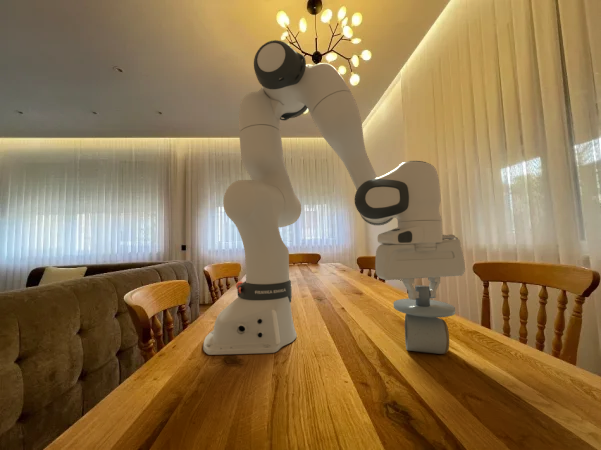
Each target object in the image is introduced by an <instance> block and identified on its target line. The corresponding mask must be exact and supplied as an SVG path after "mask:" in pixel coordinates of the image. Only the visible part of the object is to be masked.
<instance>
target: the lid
mask: <svg viewBox="0 0 601 450" xmlns="http://www.w3.org/2000/svg"><path fill="white" fill-rule="evenodd" d="M414 289H415V290H416V291H419V299H416V300H411V299H409V298H401V299H397V300H395V301H393V303H392V304H393V309H394V310H396V311H398V312H400V313H402V314H405V315H406V314H409V315H414V316H421V317H436V318H446V317H452V316H454V315H455V314H456V307H455V306H454V305H452V304H450V303H447V302H444V301H442V300H441V301H440V300H435V299H431V298H430V293H429V285H422V284H420V285H418V284H416V285H415V286H414Z"/></svg>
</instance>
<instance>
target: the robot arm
mask: <svg viewBox="0 0 601 450" xmlns="http://www.w3.org/2000/svg"><path fill="white" fill-rule="evenodd" d="M306 60H307V59H306V57H305V56H304V55H303V54H301V53H299V52H298V51H296V50H295V49H294V48H292V47H291V46H290V45H289V44H287V43H286V42H284V41H283V40H276V39H275V40H270V41H267V42H265V43H264V44H262V45H261V46H260V47H259V48H258V49H257V51H256V53H255V55H254V58H253V69H254V74H255V76H256V79H257V81H258V83H259V84H260V85H261V88H260V89H259V90H257V91H252V92H249V93H246V94H245V95H244V96H243V98H242V99H241V101H240V105H239V111H238V112H239V113H238V135H239V147H240V158H241V160H240V161H241V164H242V166H243V169H244V170H245V171H246V172H247V174H248V175H249V176H250V179H241V180H236V181H234V182H232V183H231V184H230V185H229V186H228V187H227V188H226V190H225V193H224V195H223V201H222V202H223V203H222V204H223V209H224V213H225V214H226V216H227V217H228V218H229V219H230V220H231V221H232V223H233V224H234V225H235V227H236V228H237V231H238V233H239V235H240V238H241V241H242V246H243V250H244V256H245V257H244V262H245V281H244V282H243V281H238V282H237V283H236V286H235V287H236V290H237V298H236V299H234V300H233V301H231V303H229V304H228V305H227V306H226V307H225V308H223V309H222V310H221V311H220V312H219V314H217V317H216V319H215V321H214V326H213V330H211V331H210V332H209V333H208V334H207V335H206V336H205V338H204V340H203V347H202V349H203V352H204V353H206V354H207V355H215V356H216V355H247V354H274V353H277V352H278V351H280V349H281V348H283V347H284V346H286V345H289V344H290V343H293V342H294V340H296V338H297V332H296V328H295V324H294V319H293V314H292V313H293V312H292V305H291V302H292V297H293V295H292V294H293V293H292V289H293V288H292V281H291V279H290V252H289V248H288V246H287V245H286V244H285V243H284V241H283V238H282V236H281V233H280V229H279V228H284V227H288V226H291V225H292V224H295V223H296V222H297V221H298V220H299V218H300V217H301V214H302V204H301V201H300V199H299V197H298V196H297V195H296V192H295V191H294V188H293V185H292V182H291V179H290V176H289V174H288V170H287V167H286V162H285V158H284V150H283V142H282V132H281V125H280V124H281V121H283V122H284V121H288V120H289V119H293V118H297V117H300V116H301V115H302V114H304V113H305V112H306V111H307V110H308V112H309V113H310V117H311V118H312V120H313V123H314V125H315V127H316V128H317V130H318V132H319V133H320V135H321V136H322V137H323V139H324V140H325V141H326V143H328V146H329V147H330V148H331V149H332V150H333V151H334V152H335V153H336V155H337V156H338V158H339V159H340V160H341V162H342V163H343V164H344V166H345V168H346V170H347V172H348V174H349V177H350V178H351V180H352V182H353V184H354V186H355V189H356V192H355V194H354V206H355V209H356V210H357V212H358V213H359V214H360V216H361V219H363V221H364V222H366V223H367V224H369V225H372V226H384V225H387V224H389V223H390V222H392V220H393V219H395V218H396V219H397V227H395V228H393V229H390V230H388V231H384V232H382V233H379V234H378V235H377V242H378V244H380V245H379V246H378V247H377V248H376V251H375V260H374V261H375V263H374V265H375V267H374V268H375V274H376V276H377V277H378V278H379V279H382V280H385V281H393V280H395V281H396V280H402V284H403V286H404V287H405V289H406V291H407V294H408V295H407V296H408V298H407V299H411V300H416V299H419V291H416V290H415V286H414V285H413V284H415V279H428V280H427V281H428V282H429V284H428V286H429V293H430V299H436V298H437V290H438V288H439V286H440V284H441V278H445V277H447V278H448V277H460V276H464V274H465V272H466V264H465V263H466V262H465V259H464V253H463V250H462V246H461V240H460V239H459V238H458V237H457V236H456V235H454V234H452V233H451V234H443V223H442V222H443V221H442V220H443V219H442V216H441V213H440V204H441V200H442V199H441V186H440V179H439V174H438V171H437V169H436V168H435V166H434V165H433V164H431V163H428V162H426V161H422V160H409V161H403V162H401V163H400V164H398V166H397V167H395V168H394V169H392V170H390V171H389V172H386V173H385V174H383V175H380V176H379V177H378V176H377V174H376V171H375V170H374V168H373V165H372V163H371V161H370V159H369V156H368V154H367V150H366V145H365V139H364V131H363V123H362V118H361V113H360V110H359V107H358V105H357V102H356V100H355V96H354V95H353V93H352V92H351V89H350V88H349V85H348V84H347V82H346V81H345V80H344V78H343V77H342V75H341V74H340V72H339V71H338V70H337V69H336V68H335V67H334V66H333V65H332V64H330V63H328V62H322V63H317V64H315V65H313V66H308V65H307V62H306ZM280 120H281V121H280Z"/></svg>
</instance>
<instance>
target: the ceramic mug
mask: <svg viewBox="0 0 601 450" xmlns="http://www.w3.org/2000/svg"><path fill="white" fill-rule="evenodd" d="M404 340H405V341H404V342H405V349H406V350H407V351H410V352H411V351H412V352H418V353H429V354H437V355H440V354H441V355H442V354H446V353H448V351H449V350H450V332H449V327H448V324H447V321H445V320H444V319H442V318H441V317H421V316H414V315H409V314H405V316H404Z"/></svg>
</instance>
